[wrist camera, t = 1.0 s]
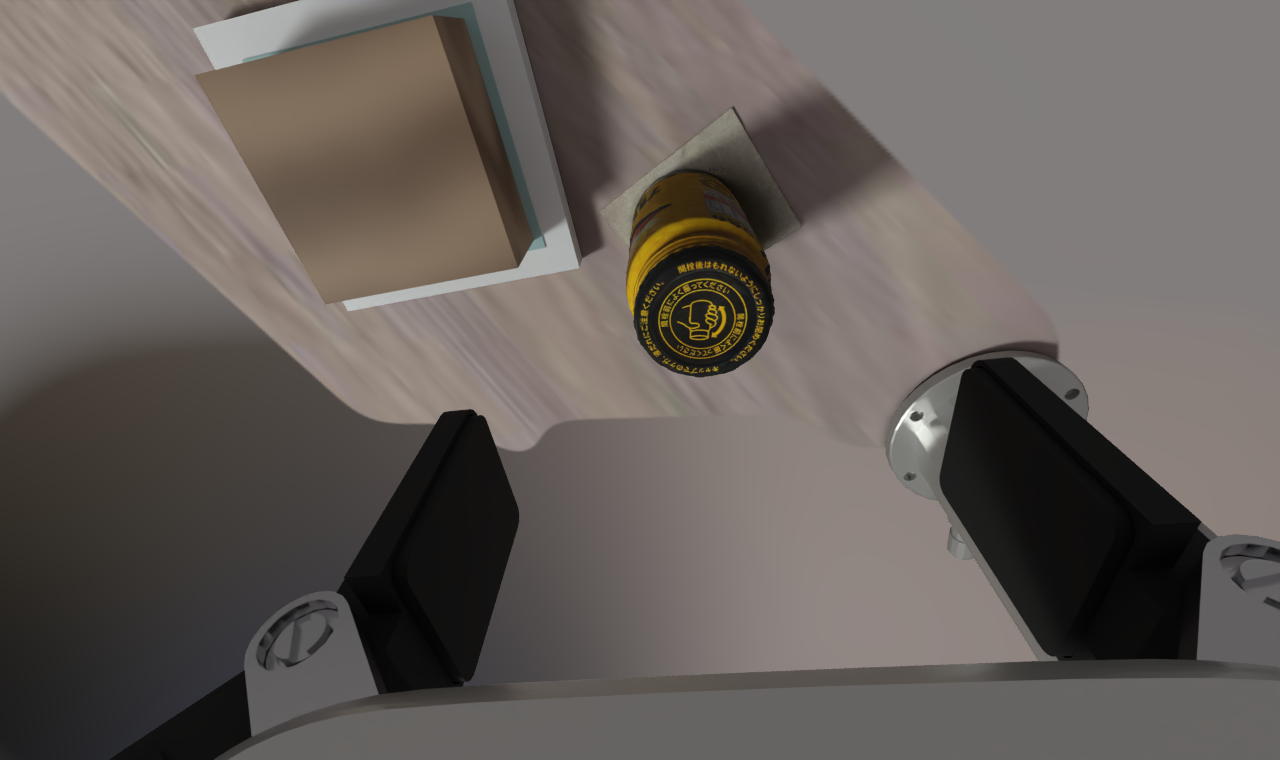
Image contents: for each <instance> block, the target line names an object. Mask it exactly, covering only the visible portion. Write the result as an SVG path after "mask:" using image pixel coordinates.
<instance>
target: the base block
mask: <svg viewBox="0 0 1280 760" xmlns="http://www.w3.org/2000/svg"><path fill="white" fill-rule="evenodd" d="M195 77H196V79H197V80H198V82H199V84H200V86H201V87H202V89H203V91H204V93H205V94H206V96H207V98H208V100H209V101H210V103H211V105H212V107H213V108H214V110H215V112H216V114H217V115H218V117H219V119H220V121H221V122H222V124H223V126H224V128H225V129H226V131H227V133H228V135H229V136H230V138H231V140H232V142H233V143H234V145H235V147H236V149H237V150H238V152H239V154H240V156H241V157H242V159H243V161H244V163H245V164H246V166H247V168H248V170H249V171H250V173H251V175H252V177H253V178H254V180H255V182H256V184H257V185H258V187H259V189H260V191H261V192H262V194H263V196H264V198H265V199H266V201H267V203H268V205H269V206H270V208H271V210H272V212H273V213H274V215H275V217H276V219H277V220H278V222H279V224H280V226H281V227H282V229H283V231H284V233H285V234H286V236H287V238H288V240H289V241H290V243H291V245H292V247H293V248H294V250H295V252H296V254H297V255H298V257H299V259H300V261H301V262H302V264H303V266H304V268H305V269H306V271H307V273H308V275H309V276H310V278H311V280H312V282H313V283H314V285H315V287H316V289H317V290H318V292H319V294H320V296H321V297H322V299H323V301H324V303H325V304H330V303H335V302H340V301H346V300H351V299H356V298H362V297H367V296H372V295H378V294H383V293H388V292H393V291H399V290H404V289H409V288H415V287H420V286H425V285H430V284H436V283H441V282H446V281H452V280H457V279H462V278H468V277H473V276H478V275H483V274H489V273H494V272H499V271H505V270H510V269H515V268H518V267H519V266H520V264H521V262H522V260H523V259H524V257H525V255H526V253H527V251H528V250H529V248H530V246H531V244H532V243H533V241H534V240H533V237H532V234H531V230H530V227H529V224H528V221H527V218H526V214H525V211H524V208H523V205H522V202H521V198H520V195H519V192H518V189H517V186H516V182H515V179H514V176H513V173H512V170H511V166H510V163H509V160H508V157H507V154H506V151H505V147H504V144H503V141H502V138H501V135H500V131H499V128H498V125H497V122H496V119H495V115H494V112H493V109H492V106H491V103H490V99H489V96H488V93H487V90H486V87H485V83H484V80H483V77H482V74H481V71H480V67H479V64H478V61H477V58H476V55H475V51H474V48H473V45H472V42H471V39H470V35H469V32H468V29H467V26H466V23H465V19H464V18H455V17H446V16H436V15H431V16H427V17H423V18H419V19H415V20H411V21H407V22H403V23H399V24H395V25H391V26H387V27H383V28H379V29H375V30H371V31H367V32H364V33H360V34H356V35H352V36H348V37H344V38H340V39H336V40H332V41H328V42H324V43H320V44H316V45H312V46H308V47H304V48H300V49H296V50H292V51H289V52H285V53H281V54H277V55H273V56H269V57H265V58H261V59H257V60H253V61H249V62H245V63H241V64H237V65H233V66H229V67H225V68H221V69H217V70H213V71H210V72H206V73H202V74H198V75H195Z"/></svg>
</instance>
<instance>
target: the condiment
mask: <svg viewBox="0 0 1280 760" xmlns="http://www.w3.org/2000/svg"><path fill="white" fill-rule="evenodd" d="M711 168H713V169H715V171H714V172H711V171H710V169H711ZM718 168H723V170H724V172H719V171H717V169H718ZM600 214H601V215H602V216H603V217H604V218H605V220H606V221H607V222H608V224H609V225H610V226H611V227H612V229H613V230H614V231H615V232H616V234H617V235H618V236H619V237H620V239H621V240H622V241H623V242H624V244H625V245H626V246H627V247H628V249H629V262H628V267H627V272H626V273H627V278H626V287H627V288H626V293H627V298H628V303H629V307H630V310H631V312H632V314H633V316H634V327H635V329H636V332H637V337H638V340H639V342H640V344H641V345H642V346H643V347H644V349H645V350H646V351H647V353H648V354H649V355H650V356H651V358H652V359H653V360H655V361H656V362H657V363H658V364H660V365H661V366H664V367H666V368H667V369H669V370H671V371H673V372H676V373H678V374H684V375H688V376H695V377H706V376H713V375H718V374H724V373H727V372H730V371H733V370H735V369H736V368H738V367H739V366H740V365H742V364H744V363H745V362H747V361H748V360H750V359H751V358H752V357H753V356H754V355H755V354H756V353H757V352H758V351H759V350H760V349H761V347H762V346H763V344H764V343H765V341H766V339H767V337H768V334H769V330H770V327H771V325H772V322H773V316H774V314H775V311H774V310H775V307H774V298H773V295H772V292H771V291H772V289H771V273H770V265H769V263H768V260H767V257H766V255H765V252H764V251H765V250H766V249H768V248H769V247H771V246H772V245H774V244H775V243H777V242H779V241H780V240H782V239H784V238H785V237H787V236H788V235H790V234H791V233H793V232H794V231H796V230H797V229H799V228H800V227H802V226H801V224H800V222H799V221H798V219H797V217H796V216H795V214H794V212H793V211H792V209H791V207H790V206H789V204H788V202H787V201H786V199H785V197H784V196H783V194H782V192H781V191H780V189H779V187H778V185H777V184H776V182H775V181H774V179H773V177H772V175H771V174H770V172H769V170H768V169H767V167H766V165H765V164H764V162H763V161H762V159H761V157H760V155H759V153H758V152H757V150H756V148H755V147H754V145H753V143H752V142H751V140H750V138H749V137H748V135H747V133H746V131H745V130H744V128H743V126H742V125H741V123H740V121H739V119H738V118H737V116H736V114H735V113H734V111H733V109H732V108H730V109H729V110H728V111H727V112H725V113H724V114H723V115H722V116H720V117H719V118H718V119H717V120H715V121H714V122H713V123H712V124H710V125H709V126H708V127H706V128H705V129H704V130H703V131H701V132H700V133H699V134H698V135H697V136H695V137H694V138H693V139H691V140H690V141H689V142H687V143H686V144H685V145H684V146H682V147H681V148H680V149H679V150H677V151H676V152H675V153H673V154H672V155H671V156H670V157H668V158H667V159H666V160H664V161H663V162H662V163H660V164H659V165H658V166H657V167H655V168H654V169H653V170H651V171H650V172H649V173H648V174H646V175H645V176H644V177H643V178H641V179H640V180H639V181H637V182H636V183H635V184H634V185H632V186H631V187H630V188H629V189H627V190H626V191H625V192H624V193H622V194H621V195H620V196H619V197H617V198H616V199H615V200H613V201H612V202H611V203H610V204H608V205H607V206H606V207H605V208H604V209H602V210H601V211H600Z"/></svg>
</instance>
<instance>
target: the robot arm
mask: <svg viewBox="0 0 1280 760" xmlns="http://www.w3.org/2000/svg"><path fill="white" fill-rule="evenodd" d="M1088 410H1089V407H1088V395H1087V393H1086V390H1085V388H1084V386H1083V384H1082V382H1081V381H1080V380H1079V379H1078V378H1077V376H1076V375H1075V374H1074V373H1073V372H1072V371H1070V370H1069V369H1068V368H1066V367H1065V366H1064V365H1062V364H1061V363H1060V362H1058V361H1056V360H1054V359H1052V358H1050V357H1048V356H1046V355H1042V354H1038V353H1033V352H1029V351H1001V352H992V353H987V354H983V355H979V356H976V357H972V358H968V359H966V360H964V361H961V362H959V363H956V364H954V365H951V366H949V367H947V368H946V369H944V370H942V371H940V372H939V373H937V374H935V375H933V376H932V377H930V378H929V379H928V380H927V381H925V382H924V383H923V384H921V385H920V386H919V387H917V388H916V389H915V390H914V391H913V392H912V393H911V394H910V395H909V396H908V397H907V398H906V399H905V401H904V402H903V403H902V404H901V406H900V407H899V409H898V410H897V412H896V413H895V415H894V416H893V419H892V421H891V423H890V425H889V428H888V431H887V436H886V441H885V447H886V456H887V459H888V462H889V465H890V467H891V469H892V470H893V472H894V474H895V475H896V477H897V479H898V480H899V481H900V482H901V483H902V484H903V485H904V486H905V487H906V488H907V489H909V490H911V491H912V492H914V493H915V494H917V495H920V496H922V497H925V498H928V499H931V500H936V501H939V503H940V504H941V506H942V508H943V509H944V511H945V512H946V514H947V516H948V520H949V523H950V524H951V525H952V527H951V528H950V532H949V537H948V543H947V549H948V551H949V552H950V553H951V554H952V555H953V556H954V557H956V558H959V559H962V560H969V559H972V558H974V559H975V561H976V562H977V564H978V565H979V567H980V568H981V570H982V572H983V573H984V575H985V576H986V578H987V580H988V581H989V583H990V585H991V586H992V588H993V589H994V591H995V592H996V594H997V596H998V597H999V599H1000V600H1001V602H1002V604H1003V605H1004V607H1005V608H1006V610H1007V611H1008V613H1009V615H1010V616H1011V618H1012V620H1013V621H1014V623H1015V624H1016V626H1017V628H1018V629H1019V631H1020V632H1021V634H1022V636H1023V637H1024V639H1025V640H1026V642H1027V644H1028V645H1029V647H1030V648H1031V650H1032V651H1033V653H1034V655H1035V656H1036V658H1037V659H1038V661H1032V662H1006V663H978V664H953V665H925V666H898V667H869V668H845V669H822V670H821V669H820V670H796V671H772V672H748V673H725V674H701V675H679V676H656V677H635V678H615V679H592V680H571V681H552V682H529V683H511V684H496V685H480V686H465V687H463V683H464V682H468V681H470V680H471V678H472V677H473V675H474V672H475V669H476V666H477V663H478V659H479V656H480V652H481V649H482V646H483V642H484V639H485V636H486V632H487V629H488V626H489V622H490V619H491V615H492V612H493V609H494V605H495V602H496V598H497V595H498V592H499V589H500V585H501V582H502V579H503V575H504V572H505V568H506V565H507V562H508V558H509V555H510V552H511V548H512V545H513V542H514V538H515V535H516V531H517V528H518V524H519V510H518V506H517V503H516V501H515V498H514V496H513V492H512V490H511V487H510V485H509V482H508V479H507V476H506V473H505V470H504V468H503V465H502V462H501V459H500V457H499V454H498V452H497V448H496V446H495V443H494V440H493V437H492V435H491V432H490V429H489V426H488V424H487V421H486V419H485V417H484V416H482V415H479V416H477V414H476V412H475V411H474V410H472V409H468V410H458V411H448V412H444V413H443V414H442V415H441V416H440V418H439V419H438V421H437V423H436V424H435V426H434V428H433V429H432V431H431V433H430V434H429V436H428V438H427V439H426V441H425V443H424V444H423V446H422V448H421V449H420V451H419V453H418V455H417V456H416V458H415V459H414V461H413V463H412V464H411V466H410V468H409V469H408V471H407V473H406V475H405V476H404V478H403V480H402V481H401V483H400V485H399V486H398V488H397V490H396V491H395V493H394V495H393V496H392V498H391V500H390V501H389V503H388V505H387V506H386V508H385V510H384V511H383V513H382V515H381V516H380V518H379V520H378V521H377V523H376V525H375V527H374V528H373V530H372V531H371V533H370V535H369V537H368V538H367V540H366V541H365V543H364V545H363V547H362V548H361V550H360V552H359V553H358V555H357V557H356V558H355V560H354V562H353V563H352V565H351V567H350V568H349V570H348V572H347V573H346V575H345V577H344V578H345V580H344V581H343V583H342V584H341V586H340V588H339V590H338V591H337V593H335V592H325V591H321V592H317V593H313V594H309V595H306V596H304V597H302V598H300V599H298V600H295V601H293V602H291V603H290V604H288V605H287V606H285V607H284V608H282V609H281V610H279V611H278V612H277V613H275V614H274V615H273V616H272V617H271V618H270V619H269V620H268V621H267V622H266V623H264V624H263V626H262V627H261V628H260V629H259V631H258V632H257V633H256V635H255V636H254V637H253V639H252V641H251V643H250V645H249V647H248V649H247V651H246V655H245V664H244V666H245V667H244V668H245V670H244V671H242V672H241V673H240V674H238V675H236V676H235V677H234V678H232V679H231V680H229V681H228V682H226V683H224V684H223V685H221V686H220V687H218V688H217V689H215V690H214V691H212V692H211V693H209V694H208V695H206V696H205V697H203V698H202V699H200V700H198V701H197V702H195V703H194V704H192V705H191V706H189V707H188V708H186V709H185V710H183V711H182V712H180V713H179V714H177V715H176V716H174V717H173V718H171V719H170V720H168V721H167V722H165V723H164V724H162V725H161V726H159V727H158V728H156V729H155V730H153V731H151V732H150V733H148V734H147V735H145V736H144V737H142V738H141V739H139V740H138V741H136V742H135V743H133V744H132V745H130V746H129V747H127V748H126V749H124V750H123V751H121V752H120V753H118V754H117V755H115V756H114V757H113V758H111V759H110V760H1280V542H1278V541H1274V540H1270V539H1266V538H1261V537H1258V536H1247V535H1236V534H1235V535H1227V536H1220V537H1218V536H1217V535H1216V534H1215V533H1214V532H1212V531H1211V530H1210V529H1209V528H1208V527H1207V526H1205V525H1204V524H1203V523H1202V522H1201V521H1200V520H1199V519H1198V518H1197V517H1196V516H1195V515H1193V514H1192V513H1191V512H1190V511H1189V510H1188V509H1187V508H1185V507H1184V506H1183V505H1182V504H1181V503H1180V502H1179V501H1177V500H1176V499H1175V498H1174V497H1173V496H1172V495H1170V494H1169V493H1168V492H1167V491H1166V490H1165V489H1164V488H1163V487H1161V486H1160V485H1159V484H1158V483H1157V482H1156V481H1154V480H1153V479H1152V478H1151V477H1150V476H1149V475H1148V474H1147V473H1145V472H1144V471H1143V470H1142V469H1141V468H1140V467H1138V466H1137V465H1136V464H1135V463H1134V462H1133V461H1131V460H1130V459H1129V458H1128V457H1127V456H1126V455H1125V454H1123V453H1122V452H1121V451H1120V450H1119V449H1118V448H1117V447H1115V446H1114V445H1113V444H1112V443H1111V442H1110V441H1109V440H1107V439H1106V438H1105V437H1104V436H1103V435H1102V434H1101V433H1100V432H1098V431H1097V430H1096V429H1095V428H1094V427H1093V426H1092V425H1090V424H1089V423H1088V422H1087V421H1086V420H1087V415H1088Z"/></svg>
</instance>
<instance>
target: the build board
mask: <svg viewBox="0 0 1280 760" xmlns="http://www.w3.org/2000/svg"><path fill="white" fill-rule="evenodd" d="M431 15H436V16H446V17H455V18H464V19H465V23H466V26H467V29H468V32H469V35H470V39H471V42H472V45H473V48H474V51H475V55H476V58H477V61H478V64H479V67H480V71H481V74H482V77H483V80H484V83H485V87H486V90H487V93H488V96H489V99H490V103H491V106H492V109H493V112H494V115H495V119H496V122H497V125H498V128H499V131H500V135H501V138H502V141H503V144H504V147H505V151H506V154H507V157H508V160H509V163H510V166H511V170H512V173H513V176H514V179H515V182H516V186H517V189H518V192H519V195H520V198H521V202H522V205H523V208H524V211H525V214H526V218H527V221H528V224H529V227H530V230H531V234H532V237H533V240H534V241H533V243H532V244H531V246H530V248H529V250H528V251H527V253H526V255H525V257H524V259H523V260H522V262H521V264H520V266H519V267H518V268H515V269H510V270H505V271H499V272H494V273H489V274H483V275H478V276H473V277H468V278H462V279H457V280H452V281H446V282H441V283H436V284H430V285H425V286H420V287H415V288H409V289H404V290H399V291H393V292H388V293H383V294H378V295H372V296H367V297H362V298H356V299H351V300H346V301H343V303H344V305H345V307H346V308H347V310H348V311H352V310H357V309H363V308H368V307H373V306H379V305H384V304H389V303H395V302H400V301H406V300H411V299H416V298H422V297H427V296H432V295H438V294H443V293H449V292H454V291H459V290H465V289H470V288H475V287H481V286H486V285H492V284H497V283H502V282H508V281H513V280H518V279H524V278H529V277H535V276H540V275H545V274H551V273H556V272H561V271H567V270H572V269H578V268H580V265H581V261H582V255H581V252H580V248H579V244H578V240H577V237H576V233H575V229H574V225H573V222H572V218H571V214H570V210H569V207H568V203H567V199H566V195H565V192H564V188H563V184H562V180H561V177H560V173H559V169H558V165H557V162H556V158H555V154H554V150H553V147H552V143H551V139H550V135H549V132H548V128H547V124H546V120H545V117H544V113H543V109H542V105H541V102H540V98H539V94H538V90H537V87H536V83H535V79H534V75H533V72H532V68H531V64H530V60H529V57H528V53H527V49H526V45H525V42H524V38H523V34H522V30H521V27H520V23H519V19H518V15H517V12H516V8H515V4H514V0H299V1H295V2H292V3H288V4H284V5H280V6H276V7H273V8H269V9H265V10H261V11H258V12H254V13H250V14H246V15H243V16H239V17H235V18H231V19H227V20H224V21H220V22H216V23H212V24H209V25H205V26H201V27H197V28H194V29H193V30H194V32H195V34H196V35H197V37H198V39H199V41H200V43H201V45H202V46H203V48H204V50H205V52H206V54H207V55H208V57H209V59H210V61H211V63H212V65H213V66H214V68H215V70H217V69H221V68H225V67H229V66H233V65H237V64H241V63H245V62H249V61H253V60H257V59H261V58H265V57H269V56H273V55H277V54H281V53H285V52H289V51H292V50H296V49H300V48H304V47H308V46H312V45H316V44H320V43H324V42H328V41H332V40H336V39H340V38H344V37H348V36H352V35H356V34H360V33H364V32H367V31H371V30H375V29H379V28H383V27H387V26H391V25H395V24H399V23H403V22H407V21H411V20H415V19H419V18H423V17H427V16H431Z"/></svg>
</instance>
